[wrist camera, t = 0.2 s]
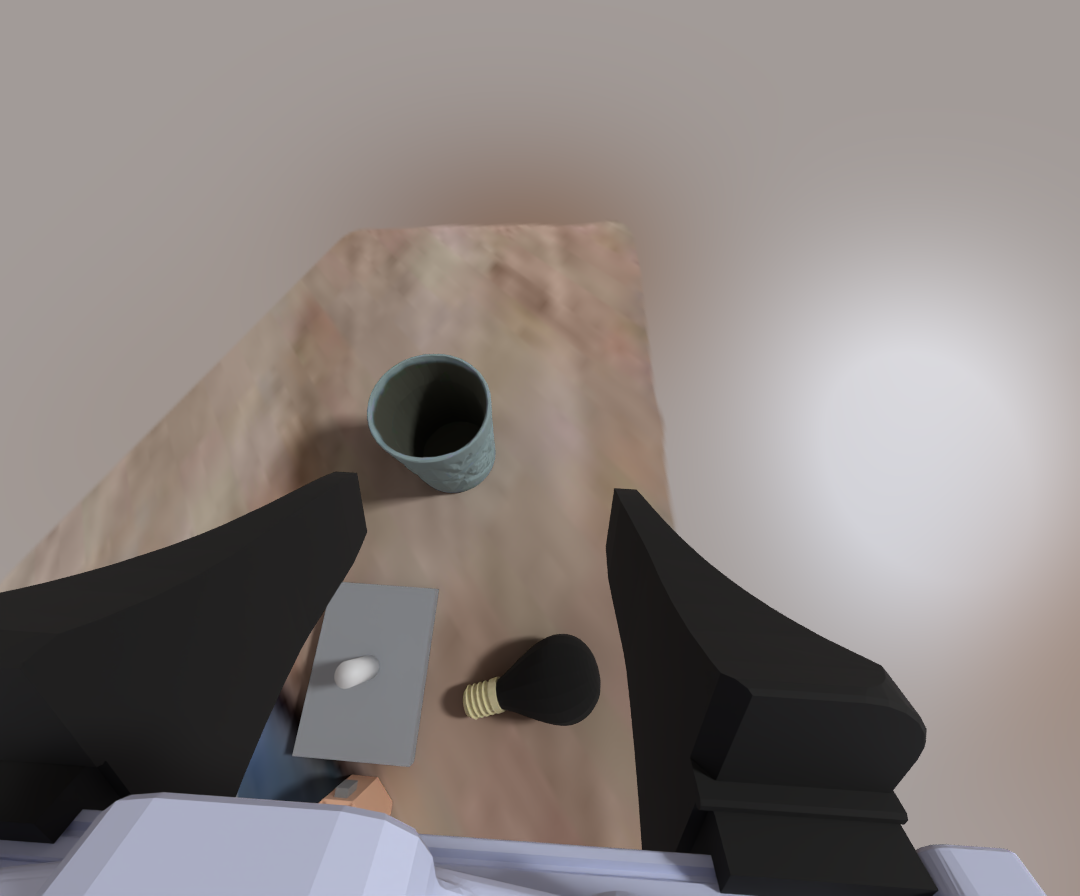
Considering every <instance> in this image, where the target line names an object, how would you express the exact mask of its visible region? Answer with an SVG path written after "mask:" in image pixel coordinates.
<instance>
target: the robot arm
mask: <svg viewBox="0 0 1080 896" xmlns="http://www.w3.org/2000/svg"><path fill="white" fill-rule="evenodd" d="M366 533H367V528H366V522H365V517H364V511H363V505H362V499H361V494H360V488H359V482H358V476H357V473H349V472H333V473H331V474H328V475H326V476H324V477H321V478H319V479H317V480H315V481H313V482H311V483H309V484H307V485H305V486H303V487H301V488H299V489H297V490H295V491H293V492H291V493H289V494H287V495H285V496H283V497H281V498H279V499H277V500H275V501H273V502H271V503H269V504H267V505H265V506H263V507H261V508H259V509H256V510H254V511H252V512H250V513H248V514H246V515H244V516H241V517H239V518H237V519H235V520H233V521H231V522H228V523H226V524H224V525H222V526H219V527H217V528H215V529H212V530H210V531H207V532H205V533H203V534H200V535H197V536H195V537H192V538H190V539H187V540H184V541H182V542H179V543H176V544H174V545H171V546H168V547H165V548H162V549H159V550H156V551H153V552H150V553H147V554H144V555H141V556H138V557H134V558H131V559H128V560H125V561H122V562H119V563H116V564H113V565H109V566H106V567H102V568H99V569H95V570H92V571H88V572H84V573H81V574H77V575H73V576H69V577H65V578H62V579H58V580H54V581H50V582H46V583H42V584H38V585H33V586H29V587H25V588H20V589H16V590H11V591H6V592H2V593H0V896H1047V895H1046V894H1045V893H1044V891H1043V890H1042V888H1041V887H1040V886H1039V884H1038V883H1037V882H1036V881H1035V879H1034V878H1033V876H1032V875H1031V874H1030V872H1029V871H1028V870H1027V868H1026V867H1025V865H1024V864H1023V863H1022V861H1021V860H1020V859H1019V857H1018V856H1017V855H1016V854H1015V853H1014V852H1012V851H1010V850H1008V849H1002V848H987V847H974V846H960V845H946V844H940V845H929V846H925V847H921V848H919V849H917V850H915V849H914V847H913V845H912V844H911V842H910V840H909V838H908V837H907V835H906V833H905V831H904V830H903V828H902V826H901V824H905V823H906V822H907V821H908V817H907V813H906V811H905V809H904V808H903V806H902V804H901V803H900V801H899V799H898V798H897V796H896V794H895V793H894V791H893V790H894V788H895V787H896V786H897V785H898V783H899V782H900V781H901V780H902V778H903V777H904V776H905V775H906V773H907V772H908V771H909V770H910V768H911V767H912V766H913V764H914V763H915V762H916V761H917V760H918V758H919V756H920V754H921V752H922V751H923V749H924V747H925V743H926V728H925V725H924V723H923V721H922V719H921V717H920V716H919V714H918V713H917V712H916V710H915V709H914V708H913V707H912V705H911V704H910V702H909V701H908V700H907V698H906V697H905V696H904V695H903V693H902V692H901V690H900V689H899V688H898V686H897V685H896V684H895V682H894V681H893V680H892V678H891V677H890V676H889V675H888V673H887V672H886V671H885V670H884V668H883V667H882V666H881V665H879V664H877V663H875V662H873V661H871V660H869V659H867V658H865V657H863V656H860V655H858V654H856V653H854V652H852V651H850V650H848V649H846V648H844V647H842V646H840V645H838V644H836V643H834V642H832V641H829V640H827V639H825V638H823V637H822V636H820V635H818V634H816V633H814V632H813V631H810V630H809V629H807V628H805V627H804V626H802V625H800V624H798V623H796V622H794V621H793V620H791V619H789V618H787V617H786V616H784V615H783V614H781V613H779V612H777V611H776V610H774V609H773V608H771V607H769V606H768V605H766V604H765V603H763V602H762V601H760V600H759V599H757V598H756V597H754V596H753V595H751V594H750V593H748V592H747V591H745V590H744V589H742V588H741V587H740V586H738V585H737V584H735V583H734V582H733V581H731V580H730V579H729V578H727V577H726V576H725V575H723V574H722V573H721V572H720V571H718V570H717V569H716V568H715V567H713V566H712V565H711V564H710V563H708V562H707V561H706V560H705V559H704V558H702V557H701V556H700V555H699V554H698V553H697V552H696V551H695V550H694V549H693V548H691V547H690V546H689V545H688V544H687V543H686V542H685V541H684V540H683V539H682V538H681V537H680V536H679V535H678V534H677V533H676V532H675V531H674V530H673V529H672V528H671V527H670V526H669V525H668V524H667V523H666V522H665V521H664V520H663V519H662V518H661V517H660V515H659V514H658V513H657V512H656V511H655V510H654V509H653V508H652V507H651V505H650V504H649V503H648V502H647V501H646V500H645V499H644V497H643V496H642V495H641V494H640V493H639V492H638V491H637V490H633V489H617V488H614V495H613V501H612V508H611V515H610V522H609V529H608V535H607V542H606V556H607V569H608V580H609V585H610V590H611V595H612V599H613V604H614V609H615V614H616V619H617V623H618V628H619V633H620V638H621V642H622V647H623V652H624V658H625V664H626V670H627V680H628V689H629V698H630V707H631V718H632V728H633V739H634V750H635V762H636V774H637V786H638V798H639V812H640V827H641V841H642V850H634V849H621V848H607V847H593V846H580V845H566V844H552V843H538V842H525V841H511V840H497V839H484V838H470V837H456V836H442V835H429V834H418V833H417V831H416V830H415V829H414V828H413V827H411V826H409V825H407V824H405V823H403V822H401V821H399V820H397V819H395V818H393V817H391V816H389V815H387V814H385V813H381V812H376V811H371V810H366V809H361V808H356V807H351V806H347V805H334V804H320V803H306V802H292V801H278V800H264V799H250V798H237V797H236V795H237V792H238V790H239V787H240V784H241V782H242V779H243V777H244V774H245V772H246V769H247V767H248V765H249V762H250V760H251V758H252V755H253V753H254V750H255V748H256V746H257V743H258V741H259V739H260V736H261V734H262V731H263V729H264V727H265V724H266V722H267V720H268V718H269V716H270V713H271V711H272V709H273V707H274V705H275V703H276V700H277V698H278V696H279V694H280V692H281V689H282V687H283V685H284V683H285V681H286V679H287V677H288V675H289V673H290V671H291V669H292V667H293V665H294V663H295V661H296V659H297V657H298V654H299V652H300V650H301V648H302V647H303V645H304V643H305V641H306V640H307V638H308V636H309V634H310V633H311V631H312V629H313V628H314V626H315V625H316V623H317V621H318V620H319V618H320V617H321V615H322V613H323V612H324V610H325V609H326V607H327V605H328V604H329V602H330V601H331V599H332V597H333V596H334V594H335V593H336V591H337V589H338V588H339V586H340V585H341V583H342V581H343V580H344V578H345V576H346V575H347V573H348V572H349V570H350V568H351V567H352V565H353V563H354V561H355V559H356V557H357V555H358V552H359V550H360V548H361V546H362V543H363V541H364V538H365V536H366Z"/></svg>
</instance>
